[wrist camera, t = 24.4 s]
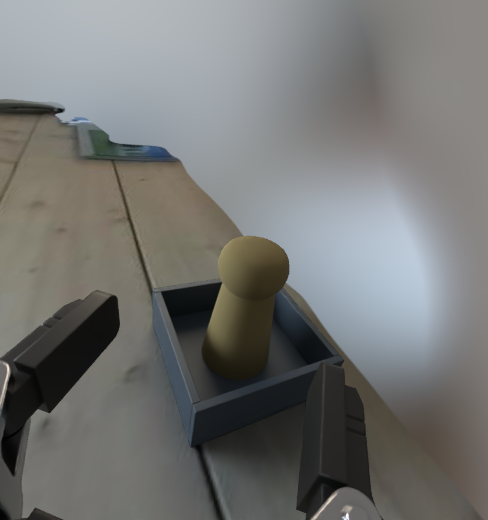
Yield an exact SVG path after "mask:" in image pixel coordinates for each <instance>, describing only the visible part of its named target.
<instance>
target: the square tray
mask: <svg viewBox="0 0 488 520" xmlns="http://www.w3.org/2000/svg"><path fill="white" fill-rule="evenodd" d="M221 286H222V281H221V279H213V280H207V281H200V282H193V283H187V284H180V285H174V286H167V287H160V288H154V289H153V325H154V329H155V332H156V335H157V339H158V342H159V345H160V348H161V352H162V355H163V358H164V362H165V365H166V368H167V372H168V375H169V378H170V382H171V385H172V388H173V391H174V395H175V398H176V401H177V405H178V408H179V411H180V415H181V418H182V421H183V425H184V428H185V431H186V434H187V438H188V441H189V444H190V447H194V446H196V445H199V444H201V443H204V442H206V441H209V440H211V439H214V438H216V437H219V436H221V435H223V434H226V433H228V432H231V431H233V430H236V429H238V428H241V427H243V426H246V425H248V424H251V423H253V422H256V421H258V420H260V419H263V418H265V417H268V416H270V415H273V414H275V413H278V412H280V411H283V410H285V409H288V408H290V407H292V406H295V405H297V404H300V403H302V402H305V401H306V399H307V394H308V390H309V387H310V385H311V383H312V381H313V378H314V376H315V374H316V372H317V370H318V367H319V365H320V363H321V362H322V361H323V362H326V363H329V364H333V365H336V366H339V367H341V366H342V364H343V362H344V359H343V358H342V357H341V356H340V355H339V353H338V352H337V351H336V350H335V348H334V347H333V346H332V345H331V344H330V343H329V341H328V340H327V339H326V338H325V337H324V336H323V334H322V333H321V332H320V331H319V330H318V329H317V327H316V326H315V325H314V324H313V323H312V321H311V320H310V319H309V318H308V317H307V316H306V314H305V313H304V312H303V311H302V310H301V309H300V307H299V306H298V305H297V304H296V303H295V302H294V300H293V299H292V298H291V297H290V296H289V294H288V293H287V292H286V291H285V290H284V289H283V287H282V289H281V290H280V291H279V292H278V293H276V294H275V303H274V311H273V320H272V328H271V337H270V346H269V354H268V361H267V364H266V366H265V368H264V369H263V370H262V371H261V372H260V373H259V374H258V375H257V376H254V377H252V378H250V379H245V380H232V379H226V378H224V377H222V376H220V375H218V374H215V373H214V372H213V371H212V370H211V369H210V368H209V367H208V366H207V365H206V363H205V361H204V359H203V357H202V350H201V348H202V344H203V341H204V338H205V335H206V331H207V328H208V325H209V322H210V319H211V316H212V313H213V310H214V307H215V304H216V301H217V298H218V295H219V292H220V289H221Z"/></svg>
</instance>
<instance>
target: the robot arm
mask: <svg viewBox="0 0 488 520" xmlns="http://www.w3.org/2000/svg"><path fill="white" fill-rule="evenodd" d="M119 327H120V320H119V309H118V299H117V297H116V296H115V295H111V294H108V293H105V292H102V291H99V290H96V291H94V292H92V293H91V294H90V295H89V296H87V297H86V298H85V299H84V300H81V299H78V300H76V301H74V302H71V303H69V304H67V305H65V306H63V307H62V308H61V309H60V310H59V311H57V312H56V313H55V314H54V315H53V316H52V318H51V317H50V318H49V319H48V320H46V321H45V322H44V323H43V325H42V326H41V325H40V326H39V327H38V328H37V329H35V330H34V331H33V332H32V333H31V334H29V335H28V336H27V337H26V338H24V339H23V340H22V341H21V342H20V343H18V344H17V345H16V346H15V347H13V348H12V349H11V350H10V351H9V352H7V353H6V354H5V355H4V356H2V357H1V358H0V520H63V519H60V518H58V517H56V516H53V515H51V514H49V513H46V512H44V511H42V510H40V509H37V508H35V509H34V510H33V512H32V513H31V514H30V516H29V517H28V518H22V510H23V494H22V474H23V467H24V461H25V455H26V449H27V442H28V436H29V430H30V423H31V418H30V417H31V416H32V415H33V414H34V412H35V411H36V410H37V409H40V410H42V411H45V412H47V413H50V412H51V411H52V410H53V409H54V408H55V407H56V406H57V404H58V403H59V402H60V401H61V400H62V399H63V397H64V396H65V395H66V394H67V393H68V392H69V390H70V389H71V388H72V387H73V386H74V385H75V384H76V382H77V381H78V380H79V379H80V378H81V377H82V375H83V374H84V373H85V372H86V371H87V370H88V368H89V367H90V366H91V365H92V364H93V363H94V362H95V360H96V359H97V358H98V357H99V356H100V355H101V353H102V352H103V351H104V350H105V349H106V348H107V346H108V345H109V344H110V343H111V342H112V341H113V339H114V338H115V337H116V335H117V333H118V330H119ZM364 421H365V418H364V407H363V403H362V401H361V398H360V396H359V394H358V392H357V390H356V388H353V387H350V386H346V385H345V375H344V369H343V368H342V367H339V366H336V365H333V364H329V363H326V362H323V361H322V362H321V363H320V365H319V367H318V370H317V372H316V374H315V376H314V378H313V381H312V383H311V385H310V387H309V390H308V394H307V399H306V406H305V417H304V428H303V439H302V451H301V462H300V473H299V484H298V495H297V507H296V509H297V510H299V511H302V512H304V513H306V520H383V519H382V517H381V515H380V514H379V512H378V510H377V508H376V506H375V503H374V501H373V497H372V493H371V485H370V474H369V463H368V452H367V440H366V437H365V435H366V429H365V423H364Z"/></svg>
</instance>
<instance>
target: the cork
mask: <svg viewBox="0 0 488 520" xmlns="http://www.w3.org/2000/svg"><path fill="white" fill-rule="evenodd" d="M218 271H219V276H220V279H221V281H222V286H221V289H220V292H219V295H218V298H217V301H216V304H215V307H214V310H213V313H212V316H211V319H210V322H209V325H208V328H207V331H206V335H205V338H204V341H203V344H202V348H201V350H202V357H203V359H204V361H205V363H206V365H207V366H208V367H209V368H210V369H211V370H212V371H213V372H214V373H215V374H218V375H220V376H222V377H224V378H226V379H232V380H245V379H250V378H252V377H254V376H257V375H258V374H259V373H260V372H261V371H262V370H263V369H264V368H265V366H266V364H267V361H268V354H269V346H270V337H271V328H272V320H273V311H274V303H275V294H276V293H278V292H279V291H280V290H281V289H282V287H283V286H284V284H285V282H286V281H287V278H288V275H289V260H288V257H287V254H286V253H285V251H284V250H283V249H282V248H281V247H280V246H279V245H277V244H276V243H274V242H272V241H270V240H268V239H265V238H262V237H256V236H244V237H238V238H235V239H233V240H231V241H230V242H229V243H228V244H227V245H226V246H225V247H224V248H223V249H222V252H221V254H220V257H219V261H218Z"/></svg>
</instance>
